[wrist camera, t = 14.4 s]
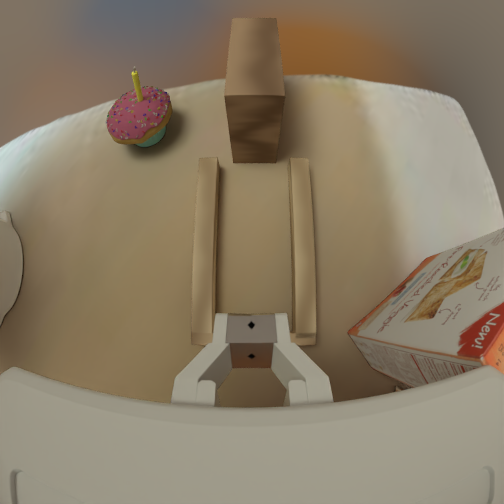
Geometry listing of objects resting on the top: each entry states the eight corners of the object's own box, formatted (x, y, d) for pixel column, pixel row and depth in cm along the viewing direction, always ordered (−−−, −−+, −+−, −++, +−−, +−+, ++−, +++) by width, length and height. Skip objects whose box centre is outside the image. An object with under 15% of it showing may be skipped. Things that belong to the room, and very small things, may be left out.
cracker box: (423, 255, 30) (556, 198, 9) (446, 293, 29) (580, 267, 8) (342, 330, 28) (484, 356, 8) (370, 369, 27) (508, 430, 7)
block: (233, 163, 32) (224, 95, 20) (236, 83, 35) (232, 18, 23) (275, 163, 32) (285, 95, 20) (271, 83, 35) (276, 18, 23)
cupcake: (175, 103, 34) (153, 40, 22) (183, 148, 32) (157, 83, 21) (120, 122, 34) (85, 68, 22) (121, 169, 32) (76, 116, 20)
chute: (196, 341, 28) (191, 344, 26) (203, 168, 32) (199, 158, 29) (310, 341, 28) (315, 344, 26) (304, 168, 32) (308, 158, 29)
